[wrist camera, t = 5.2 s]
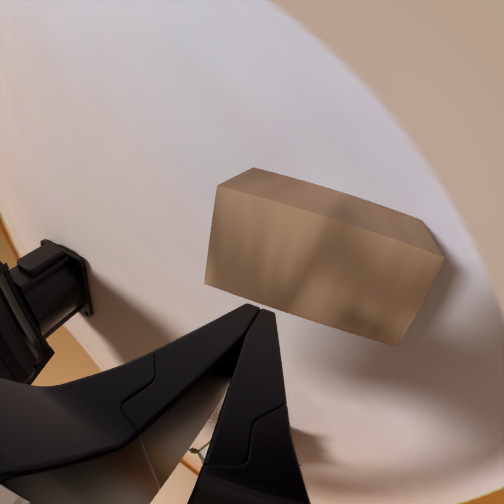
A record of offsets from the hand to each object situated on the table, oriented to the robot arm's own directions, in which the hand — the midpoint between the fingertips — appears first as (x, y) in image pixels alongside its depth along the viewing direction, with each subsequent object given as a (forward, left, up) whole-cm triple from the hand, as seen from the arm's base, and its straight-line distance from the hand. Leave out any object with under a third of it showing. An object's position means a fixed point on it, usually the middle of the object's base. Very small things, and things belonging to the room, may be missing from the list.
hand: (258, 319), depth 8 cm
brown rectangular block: (0, +3, -6) cm, 7 cm away
